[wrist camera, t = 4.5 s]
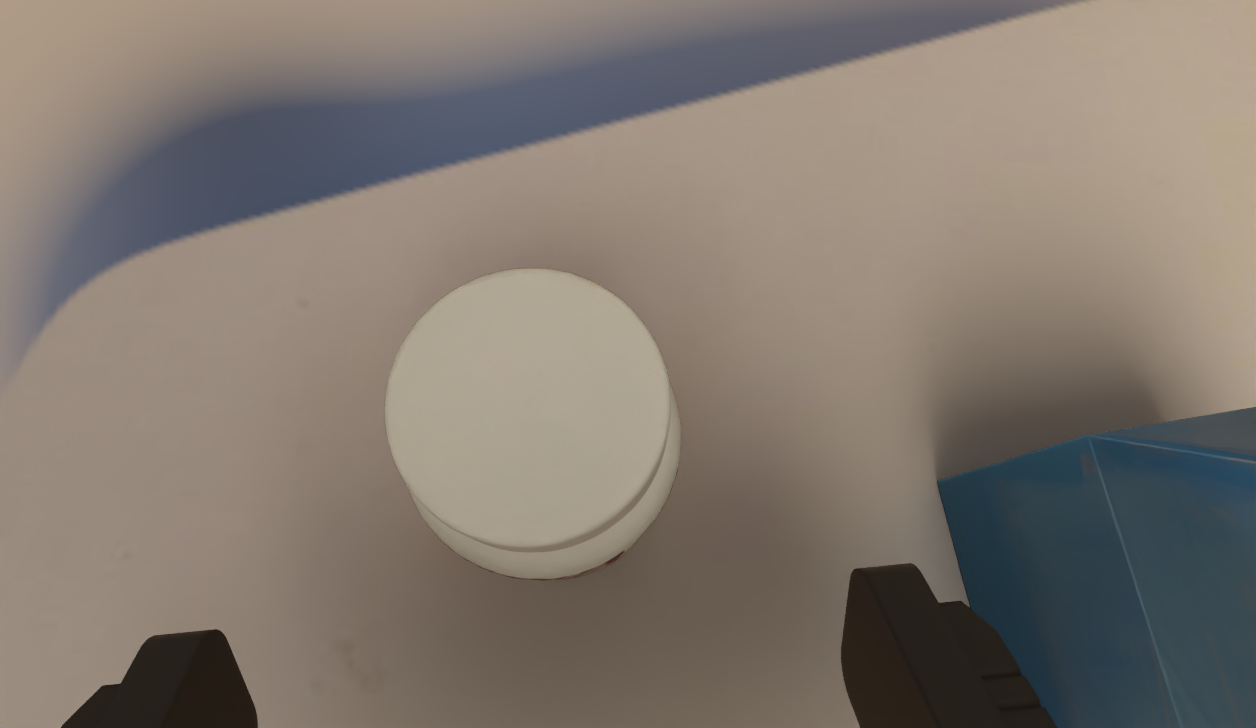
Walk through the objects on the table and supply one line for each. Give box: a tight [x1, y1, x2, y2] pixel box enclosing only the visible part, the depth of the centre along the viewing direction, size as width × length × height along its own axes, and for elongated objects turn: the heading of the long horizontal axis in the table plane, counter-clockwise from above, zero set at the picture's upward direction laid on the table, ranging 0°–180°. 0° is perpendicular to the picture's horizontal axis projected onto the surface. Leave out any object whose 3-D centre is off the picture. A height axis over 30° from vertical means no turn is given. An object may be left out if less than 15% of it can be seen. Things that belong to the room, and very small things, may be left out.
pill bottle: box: [385, 268, 681, 580], centre depth 15 cm, size 5×5×8 cm
